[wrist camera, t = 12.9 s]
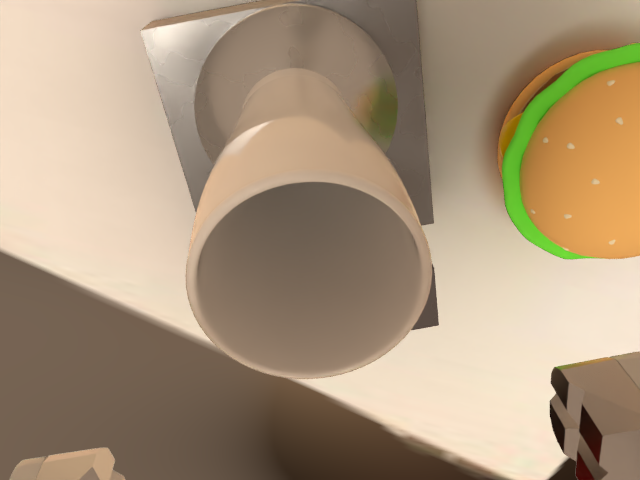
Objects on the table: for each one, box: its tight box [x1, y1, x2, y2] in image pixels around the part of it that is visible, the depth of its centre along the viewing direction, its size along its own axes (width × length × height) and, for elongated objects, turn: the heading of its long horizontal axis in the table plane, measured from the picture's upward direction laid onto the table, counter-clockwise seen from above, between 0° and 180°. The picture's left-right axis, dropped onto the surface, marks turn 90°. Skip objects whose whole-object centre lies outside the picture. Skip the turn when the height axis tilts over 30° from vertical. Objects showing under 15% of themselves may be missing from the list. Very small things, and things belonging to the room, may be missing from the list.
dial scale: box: [140, 0, 439, 330], centre depth 27 cm, size 13×13×12 cm
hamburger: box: [498, 43, 640, 259], centre depth 30 cm, size 12×12×9 cm
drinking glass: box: [186, 68, 432, 379], centre depth 22 cm, size 7×7×15 cm
